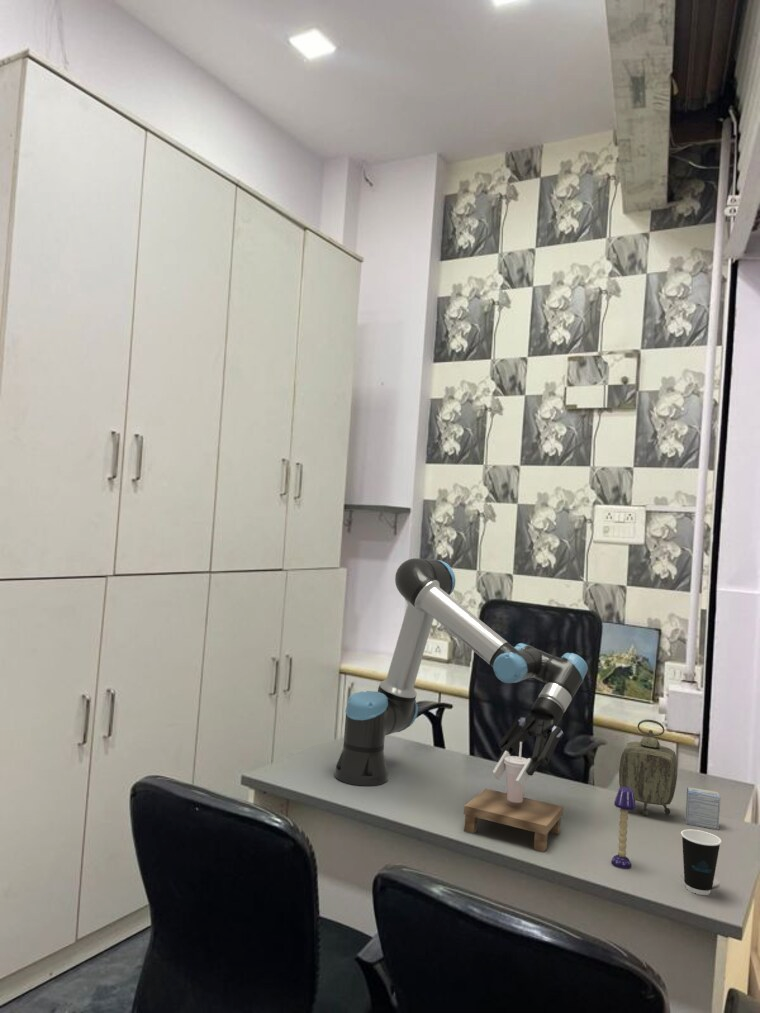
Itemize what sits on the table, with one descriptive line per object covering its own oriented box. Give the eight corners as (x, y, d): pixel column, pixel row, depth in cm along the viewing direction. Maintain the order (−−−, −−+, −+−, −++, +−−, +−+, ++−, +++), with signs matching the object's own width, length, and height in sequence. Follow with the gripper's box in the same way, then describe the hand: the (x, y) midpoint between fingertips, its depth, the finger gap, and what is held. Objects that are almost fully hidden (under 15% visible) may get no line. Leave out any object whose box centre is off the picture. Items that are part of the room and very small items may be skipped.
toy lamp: (607, 859, 168) (611, 784, 169) (627, 860, 169) (631, 785, 170) (615, 868, 164) (620, 791, 165) (636, 869, 164) (640, 792, 165)
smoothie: (528, 806, 177) (532, 746, 178) (501, 802, 179) (505, 743, 179) (528, 797, 184) (531, 740, 184) (502, 793, 185) (505, 737, 186)
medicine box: (717, 825, 197) (719, 791, 198) (718, 830, 193) (720, 796, 193) (685, 819, 200) (687, 786, 200) (686, 824, 195) (688, 791, 196)
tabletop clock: (675, 814, 203) (680, 721, 204) (673, 824, 195) (678, 728, 196) (619, 802, 209) (625, 712, 210) (615, 812, 201) (621, 718, 202)
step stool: (462, 830, 178) (464, 805, 179) (484, 812, 192) (485, 788, 193) (544, 852, 169) (546, 826, 169) (561, 831, 183) (563, 806, 184)
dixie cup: (697, 900, 151) (700, 845, 152) (669, 882, 159) (672, 830, 159) (727, 896, 154) (730, 842, 155) (698, 879, 161) (701, 828, 162)
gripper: (588, 723, 186) (546, 801, 174) (525, 706, 200) (482, 777, 188) (578, 704, 182) (534, 782, 170) (514, 688, 196) (470, 759, 184)
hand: (507, 779), depth 179 cm, fingers closed on smoothie, 6 cm apart
